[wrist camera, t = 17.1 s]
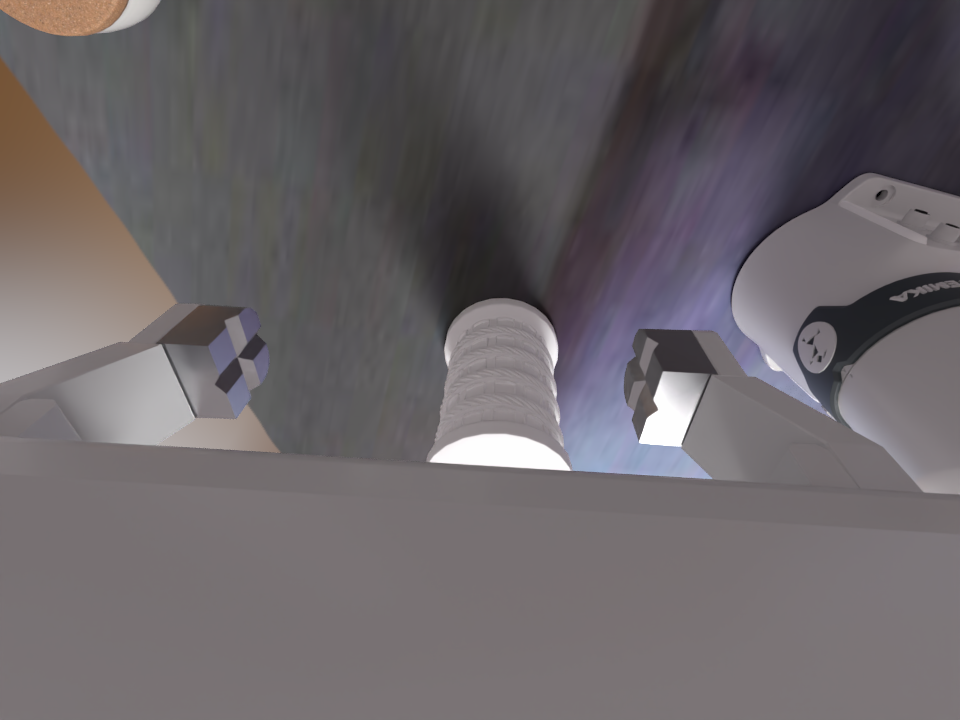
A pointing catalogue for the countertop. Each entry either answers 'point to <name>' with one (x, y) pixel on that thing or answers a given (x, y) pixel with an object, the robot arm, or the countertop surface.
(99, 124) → the countertop surface
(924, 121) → the countertop surface
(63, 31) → the lidded jar
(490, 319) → the decorative container
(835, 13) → the countertop surface
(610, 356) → the countertop surface
